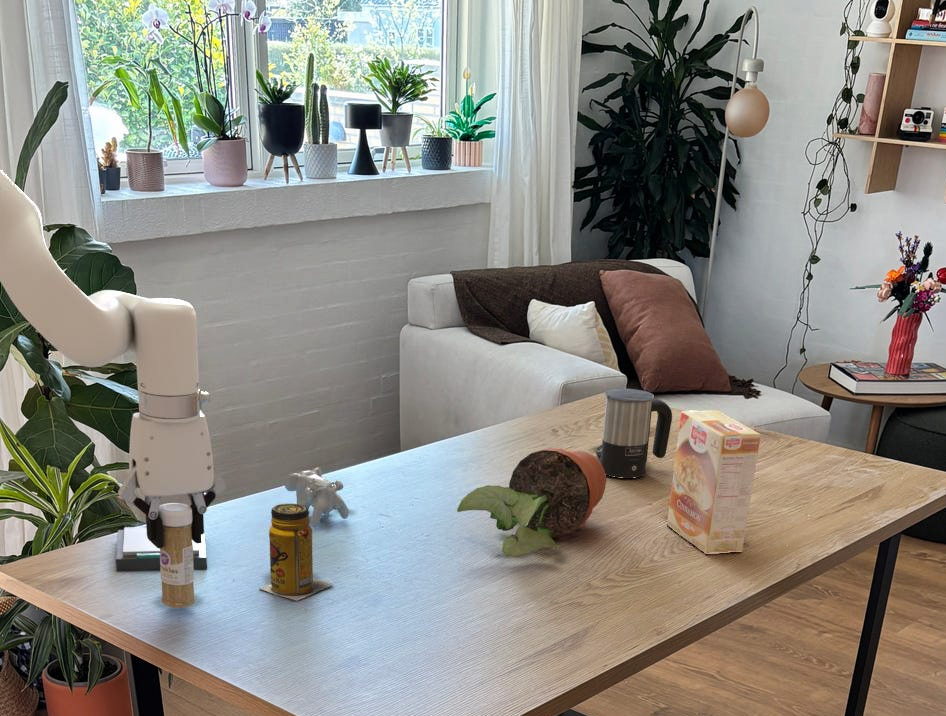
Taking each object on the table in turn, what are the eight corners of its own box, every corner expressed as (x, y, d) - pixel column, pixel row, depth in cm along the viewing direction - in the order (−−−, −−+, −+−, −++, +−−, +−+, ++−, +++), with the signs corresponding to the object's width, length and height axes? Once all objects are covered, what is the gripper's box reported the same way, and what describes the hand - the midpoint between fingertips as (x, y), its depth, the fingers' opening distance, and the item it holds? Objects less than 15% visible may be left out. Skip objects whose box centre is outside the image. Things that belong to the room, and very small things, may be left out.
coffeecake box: (664, 526, 222) (679, 410, 212) (702, 523, 224) (718, 409, 214) (704, 556, 209) (722, 434, 200) (743, 553, 212) (763, 433, 202)
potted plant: (532, 518, 227) (439, 560, 198) (546, 430, 220) (452, 460, 191) (614, 541, 221) (532, 586, 192) (632, 451, 214) (549, 485, 185)
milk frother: (621, 482, 242) (630, 402, 235) (562, 462, 252) (569, 383, 245) (672, 471, 250) (682, 393, 243) (613, 452, 260) (621, 376, 253)
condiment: (258, 589, 187) (255, 508, 181) (297, 573, 193) (295, 494, 187) (296, 602, 183) (294, 520, 177) (335, 586, 190) (334, 505, 184)
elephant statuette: (326, 532, 209) (326, 485, 206) (264, 519, 214) (262, 472, 210) (356, 517, 217) (356, 472, 213) (295, 504, 221) (294, 459, 217)
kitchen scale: (116, 571, 190) (115, 555, 189) (118, 541, 201) (117, 526, 200) (207, 569, 193) (206, 553, 192) (204, 539, 204) (203, 524, 202)
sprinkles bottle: (154, 604, 177) (149, 508, 170) (175, 594, 180) (170, 499, 173) (183, 611, 175) (178, 515, 168) (202, 601, 179) (199, 506, 172)
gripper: (221, 392, 171) (224, 526, 180) (93, 401, 163) (104, 541, 172) (243, 406, 165) (246, 544, 175) (113, 416, 157) (123, 560, 166)
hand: (176, 541), depth 173 cm, fingers closed on sprinkles bottle, 4 cm apart
